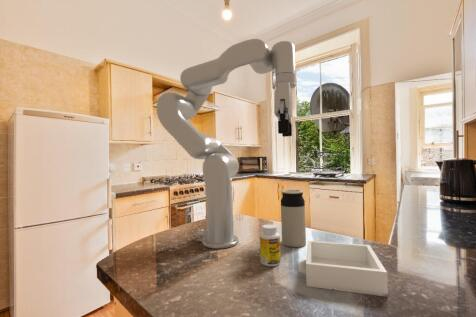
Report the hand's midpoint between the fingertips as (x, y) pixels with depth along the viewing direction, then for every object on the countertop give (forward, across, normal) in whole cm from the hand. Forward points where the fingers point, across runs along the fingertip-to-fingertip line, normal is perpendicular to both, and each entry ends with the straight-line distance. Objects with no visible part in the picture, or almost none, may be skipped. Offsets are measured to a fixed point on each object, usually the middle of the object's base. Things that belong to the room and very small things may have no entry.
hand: (285, 134), depth 76 cm
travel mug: (+37, -5, +1) cm, 37 cm away
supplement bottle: (+37, +12, -4) cm, 39 cm away
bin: (+37, +14, +14) cm, 42 cm away
